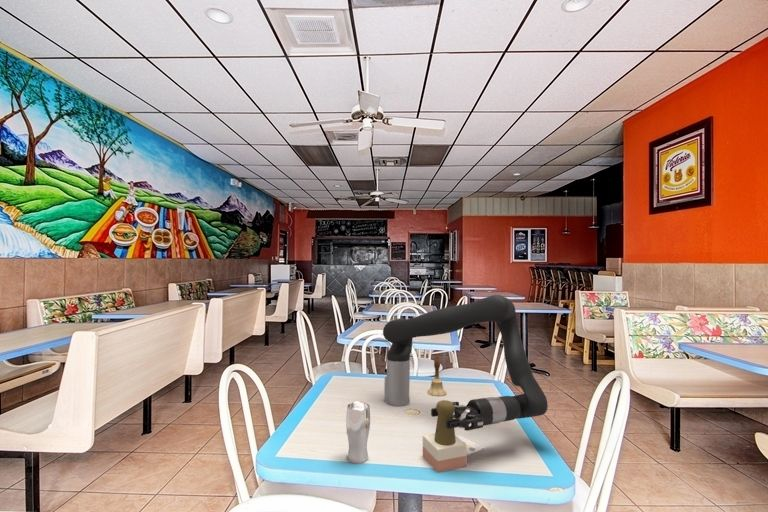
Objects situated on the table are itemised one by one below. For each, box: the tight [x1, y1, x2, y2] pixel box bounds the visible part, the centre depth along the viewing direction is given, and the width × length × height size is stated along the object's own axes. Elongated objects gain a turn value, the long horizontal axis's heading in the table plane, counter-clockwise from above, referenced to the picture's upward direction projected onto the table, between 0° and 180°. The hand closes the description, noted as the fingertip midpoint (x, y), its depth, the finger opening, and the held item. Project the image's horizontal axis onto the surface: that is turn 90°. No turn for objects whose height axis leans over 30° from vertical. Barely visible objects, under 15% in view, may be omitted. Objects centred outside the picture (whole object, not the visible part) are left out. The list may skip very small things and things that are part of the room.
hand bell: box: [426, 355, 447, 397], centre depth 167 cm, size 8×8×16 cm
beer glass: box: [345, 401, 371, 465], centre depth 111 cm, size 7×7×15 cm
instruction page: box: [457, 435, 485, 457], centre depth 120 cm, size 10×7×1 cm
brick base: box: [422, 433, 467, 473], centre depth 110 cm, size 9×9×6 cm
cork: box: [434, 399, 456, 446], centre depth 110 cm, size 6×6×11 cm
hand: (438, 418), depth 110 cm, fingers open, 8 cm apart
